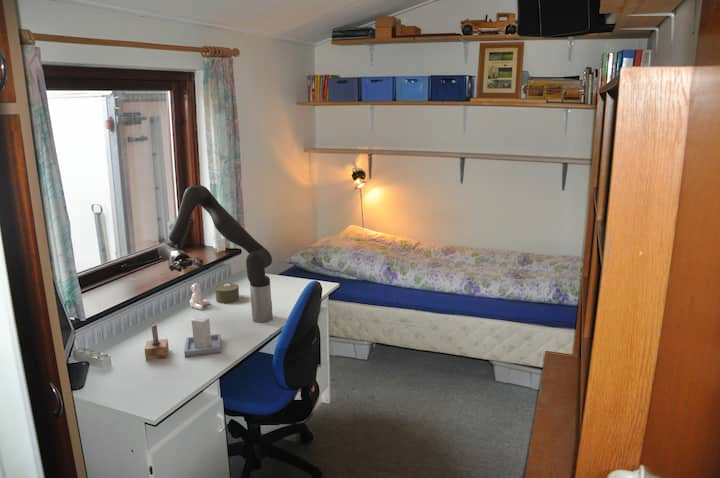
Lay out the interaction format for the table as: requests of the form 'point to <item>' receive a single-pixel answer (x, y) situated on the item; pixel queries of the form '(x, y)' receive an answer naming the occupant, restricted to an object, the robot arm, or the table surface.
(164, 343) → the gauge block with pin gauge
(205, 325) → the skincare box
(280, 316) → the table surface
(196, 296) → the white creature statuette
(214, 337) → the tray
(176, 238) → the robot arm
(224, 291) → the can
